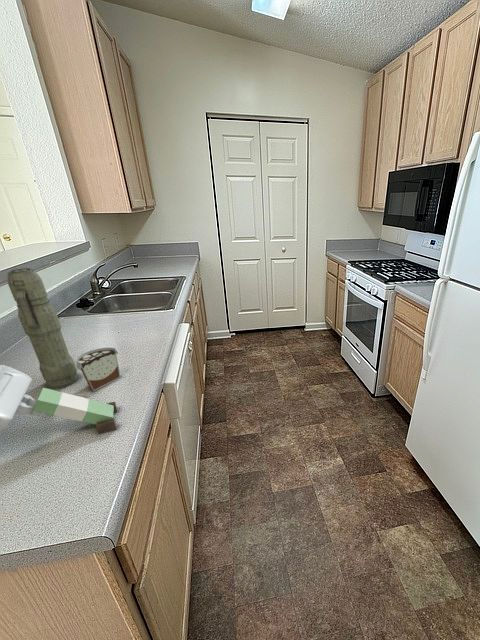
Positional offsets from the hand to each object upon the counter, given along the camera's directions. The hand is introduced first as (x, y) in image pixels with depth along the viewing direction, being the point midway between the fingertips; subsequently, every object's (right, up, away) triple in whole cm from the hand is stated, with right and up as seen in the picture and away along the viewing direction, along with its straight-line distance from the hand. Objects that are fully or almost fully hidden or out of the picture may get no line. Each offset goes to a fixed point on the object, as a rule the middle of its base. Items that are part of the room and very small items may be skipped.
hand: (41, 410), depth 79 cm
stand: (+11, -4, +8) cm, 14 cm away
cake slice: (-2, +5, +26) cm, 27 cm away
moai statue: (-14, +5, +27) cm, 31 cm away
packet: (+5, -1, +4) cm, 6 cm away
